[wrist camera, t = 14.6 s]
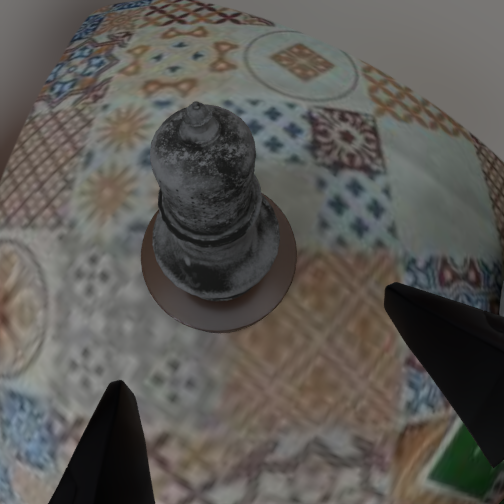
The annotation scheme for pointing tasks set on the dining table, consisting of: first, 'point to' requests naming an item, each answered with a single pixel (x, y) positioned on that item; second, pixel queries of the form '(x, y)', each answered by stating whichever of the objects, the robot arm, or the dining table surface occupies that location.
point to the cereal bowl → (502, 301)
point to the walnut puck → (232, 311)
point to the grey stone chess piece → (210, 205)
